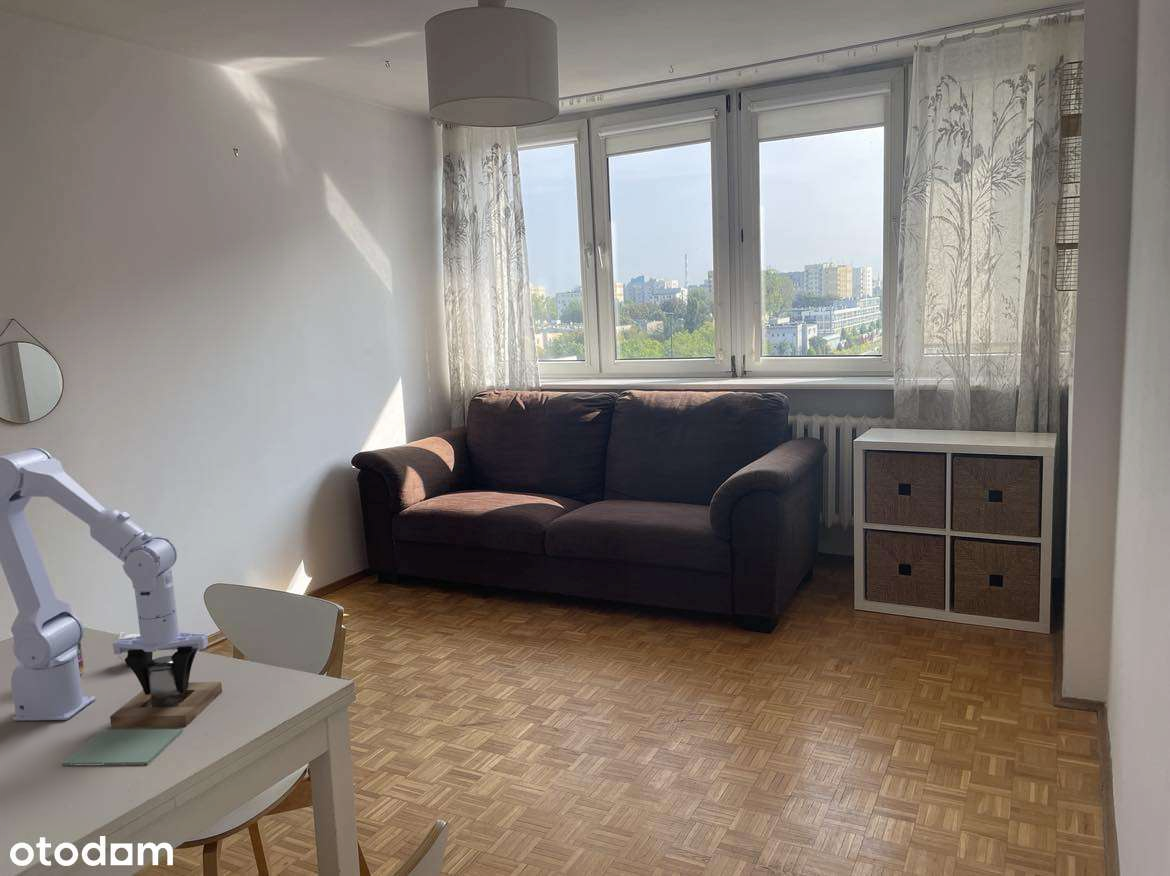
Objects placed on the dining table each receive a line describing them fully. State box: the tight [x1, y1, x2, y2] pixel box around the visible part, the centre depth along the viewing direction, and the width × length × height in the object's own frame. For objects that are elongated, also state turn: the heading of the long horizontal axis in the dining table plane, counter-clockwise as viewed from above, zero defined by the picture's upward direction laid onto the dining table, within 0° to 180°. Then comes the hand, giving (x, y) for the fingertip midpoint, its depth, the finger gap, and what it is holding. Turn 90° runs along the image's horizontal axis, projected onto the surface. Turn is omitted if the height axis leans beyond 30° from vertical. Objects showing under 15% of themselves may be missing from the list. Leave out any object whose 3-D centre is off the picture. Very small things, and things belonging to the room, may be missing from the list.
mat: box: [61, 728, 183, 766], centre depth 135 cm, size 13×10×1 cm
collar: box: [109, 681, 223, 728], centre depth 147 cm, size 12×12×2 cm
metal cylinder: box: [146, 655, 185, 707], centre depth 147 cm, size 5×5×8 cm
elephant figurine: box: [115, 631, 140, 665], centre depth 168 cm, size 7×8×6 cm
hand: (166, 691), depth 147 cm, fingers closed on metal cylinder, 5 cm apart
